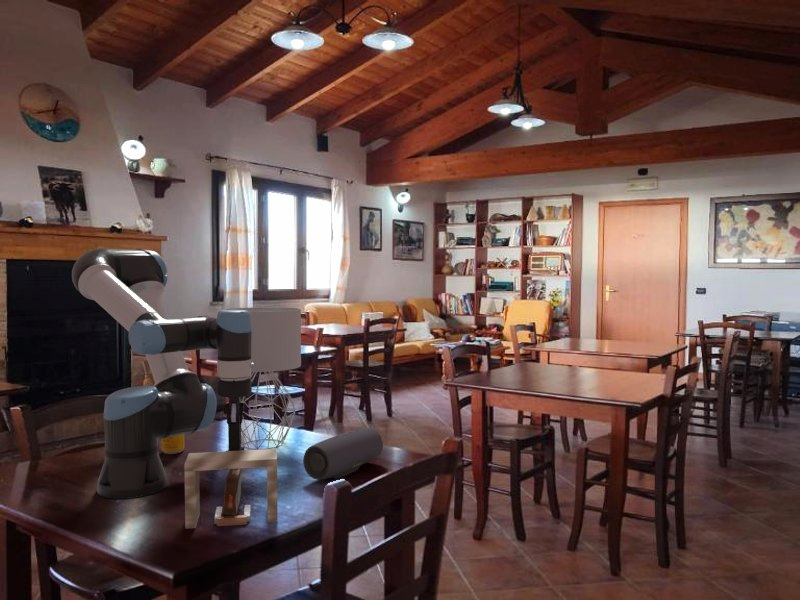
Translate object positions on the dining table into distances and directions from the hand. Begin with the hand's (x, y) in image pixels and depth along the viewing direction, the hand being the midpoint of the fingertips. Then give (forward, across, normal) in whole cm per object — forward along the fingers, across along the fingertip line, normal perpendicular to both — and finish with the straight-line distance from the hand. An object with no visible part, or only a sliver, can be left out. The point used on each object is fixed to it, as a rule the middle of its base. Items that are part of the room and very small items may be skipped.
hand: (235, 480), depth 153 cm
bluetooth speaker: (+4, +12, -26) cm, 29 cm away
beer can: (+4, +41, +19) cm, 45 cm away
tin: (+4, -9, 0) cm, 10 cm away
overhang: (+3, -15, 0) cm, 15 cm away
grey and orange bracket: (+3, -15, 0) cm, 15 cm away
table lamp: (+4, +44, -6) cm, 45 cm away
